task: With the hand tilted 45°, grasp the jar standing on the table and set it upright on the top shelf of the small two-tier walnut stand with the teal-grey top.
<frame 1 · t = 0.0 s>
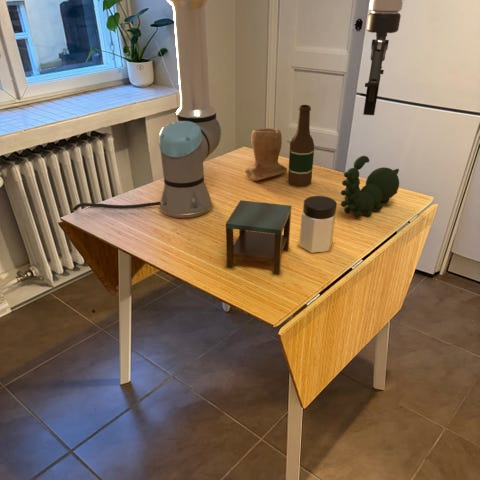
hand: (370, 107, 124), 28 cm above the table, tool pointing down, fingers open, 13 cm apart
beer bottle: (299, 183, 156), on the table
stand: (258, 257, 119), on the table
tan piece: (264, 175, 162), on the table
jar: (315, 245, 124), on the table
toy figurine: (368, 210, 140), on the table
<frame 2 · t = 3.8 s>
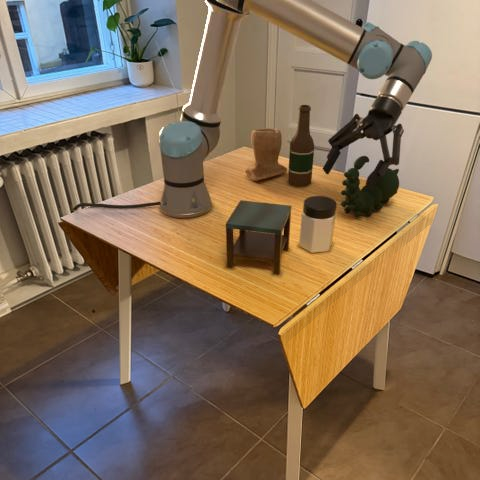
hand: (346, 178, 120), 15 cm above the table, tool tilted 45°, fingers open, 13 cm apart
nothing on the table moved.
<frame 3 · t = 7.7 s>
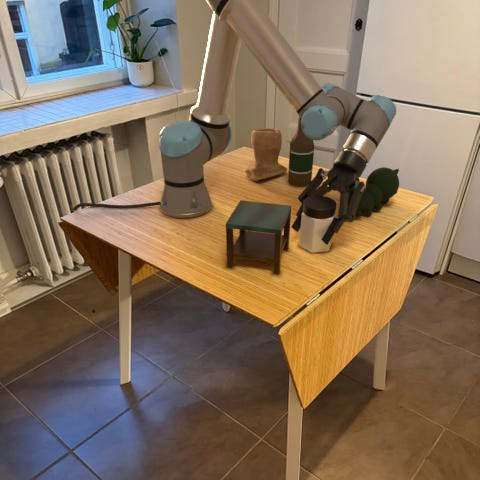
hand: (309, 235, 119), 4 cm above the table, tool tilted 45°, fingers closed on jar, 9 cm apart
jar: (315, 245, 124), on the table, touching gripper
everything else where it was.
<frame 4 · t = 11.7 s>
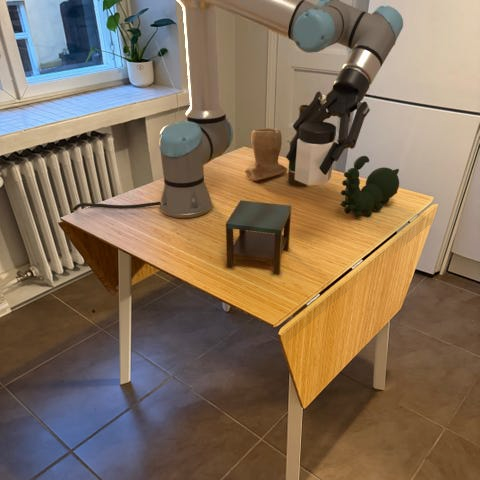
hand: (305, 165, 107), 22 cm above the table, tool tilted 45°, fingers closed on jar, 9 cm apart
jar: (312, 179, 112), point 18 cm above the table, touching gripper
everything else where it was.
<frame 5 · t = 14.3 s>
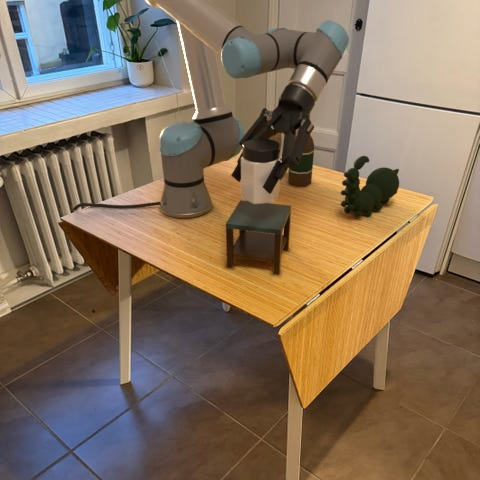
hand: (250, 184, 104), 20 cm above the table, tool tilted 45°, fingers closed on jar, 9 cm apart
jar: (260, 197, 109), point 16 cm above the table, touching gripper
everything else where it was.
when the fingers open (16 cm above the table, at t = 16.0 s): jar stays where it is, resting on stand.
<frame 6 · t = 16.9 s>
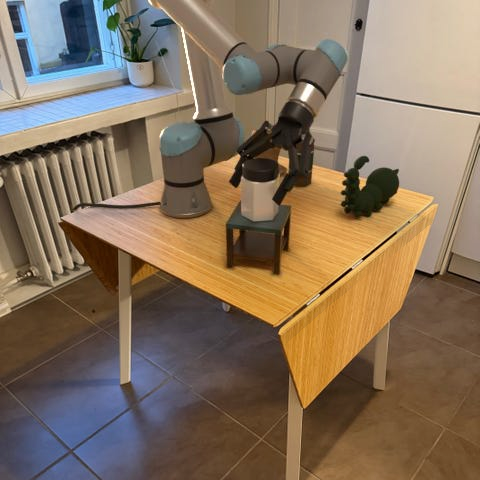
hand: (253, 193, 107), 18 cm above the table, tool tilted 45°, fingers open, 13 cm apart
jar: (259, 214, 111), point 12 cm above the table, touching stand
everything else where it was.
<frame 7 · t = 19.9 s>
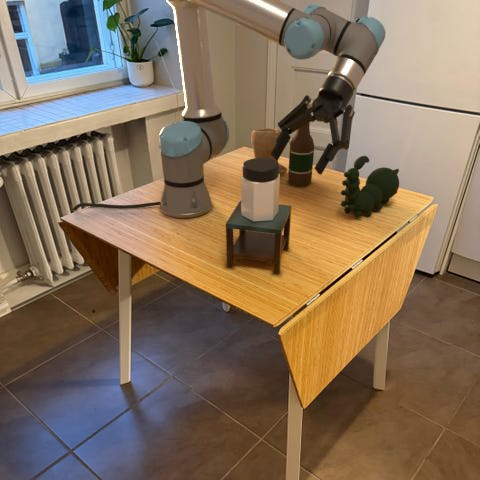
hand: (295, 164, 112), 21 cm above the table, tool tilted 45°, fingers open, 13 cm apart
nothing on the table moved.
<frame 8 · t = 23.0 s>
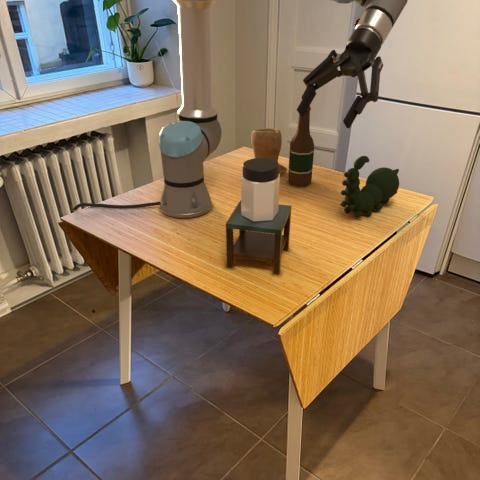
hand: (322, 119, 111), 30 cm above the table, tool tilted 45°, fingers open, 13 cm apart
nothing on the table moved.
at the end: jar inside the target area on the stand (0.0 cm from its centre), point 11.8 cm above the stand's base; jar tilted 0°; the gripper is holding nothing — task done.
